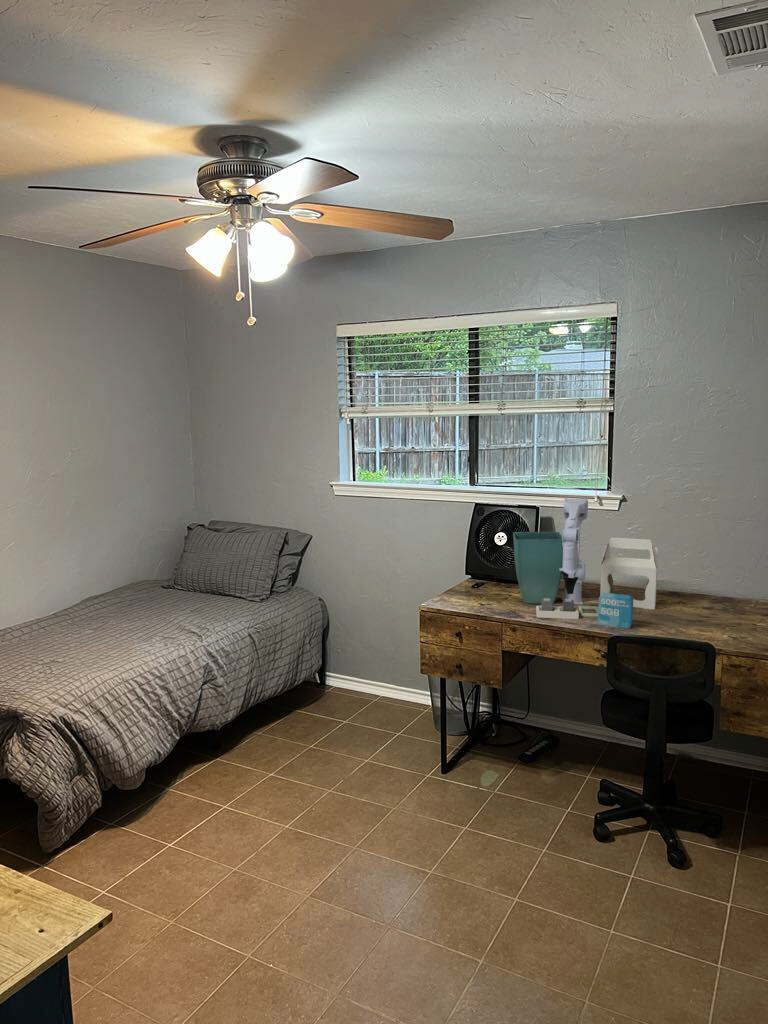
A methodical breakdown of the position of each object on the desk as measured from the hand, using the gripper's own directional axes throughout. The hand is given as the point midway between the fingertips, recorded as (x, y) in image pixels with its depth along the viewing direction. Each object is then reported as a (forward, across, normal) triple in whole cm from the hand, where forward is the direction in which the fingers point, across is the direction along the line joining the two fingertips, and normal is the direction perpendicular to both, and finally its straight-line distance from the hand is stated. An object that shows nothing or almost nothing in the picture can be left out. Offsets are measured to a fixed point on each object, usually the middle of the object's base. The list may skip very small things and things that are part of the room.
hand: (569, 591), depth 301 cm
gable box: (+10, -20, +26) cm, 35 cm away
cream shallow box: (+10, +3, -5) cm, 11 cm away
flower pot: (+10, -20, -11) cm, 25 cm away
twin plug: (+9, +3, -9) cm, 13 cm away
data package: (+10, +13, +16) cm, 23 cm away
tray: (+10, -3, +10) cm, 15 cm away
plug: (+9, +3, 0) cm, 10 cm away
